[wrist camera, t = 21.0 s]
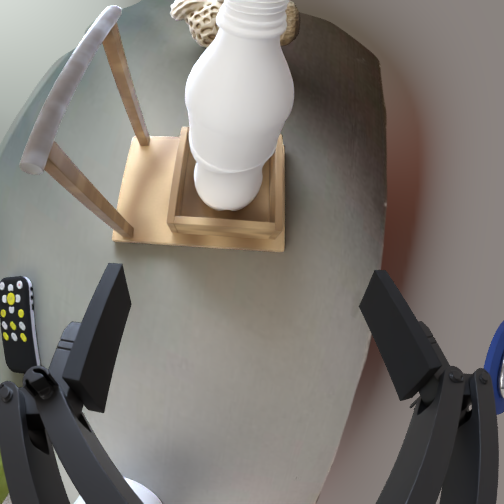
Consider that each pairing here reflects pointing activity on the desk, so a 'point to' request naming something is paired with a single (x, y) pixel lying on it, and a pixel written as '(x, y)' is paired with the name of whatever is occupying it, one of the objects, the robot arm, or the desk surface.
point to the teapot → (206, 29)
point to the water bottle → (238, 102)
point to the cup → (143, 493)
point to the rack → (152, 169)
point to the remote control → (18, 324)
